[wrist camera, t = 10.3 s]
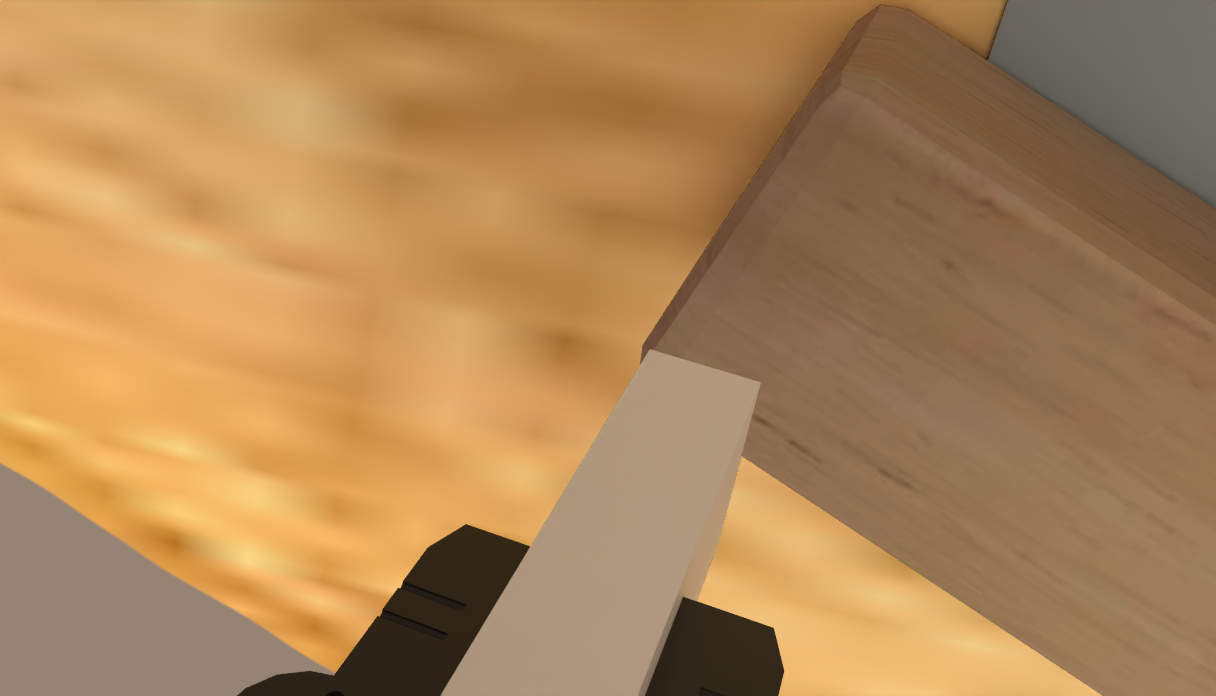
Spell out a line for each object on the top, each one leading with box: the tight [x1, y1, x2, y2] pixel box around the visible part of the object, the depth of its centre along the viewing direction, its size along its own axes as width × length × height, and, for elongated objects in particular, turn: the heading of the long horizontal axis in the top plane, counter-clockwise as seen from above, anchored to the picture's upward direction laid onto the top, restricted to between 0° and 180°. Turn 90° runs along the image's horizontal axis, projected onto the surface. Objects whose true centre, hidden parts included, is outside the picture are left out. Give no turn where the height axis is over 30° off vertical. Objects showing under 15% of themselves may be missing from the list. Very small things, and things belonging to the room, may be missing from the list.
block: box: [640, 5, 1216, 696], centre depth 28 cm, size 10×10×20 cm
